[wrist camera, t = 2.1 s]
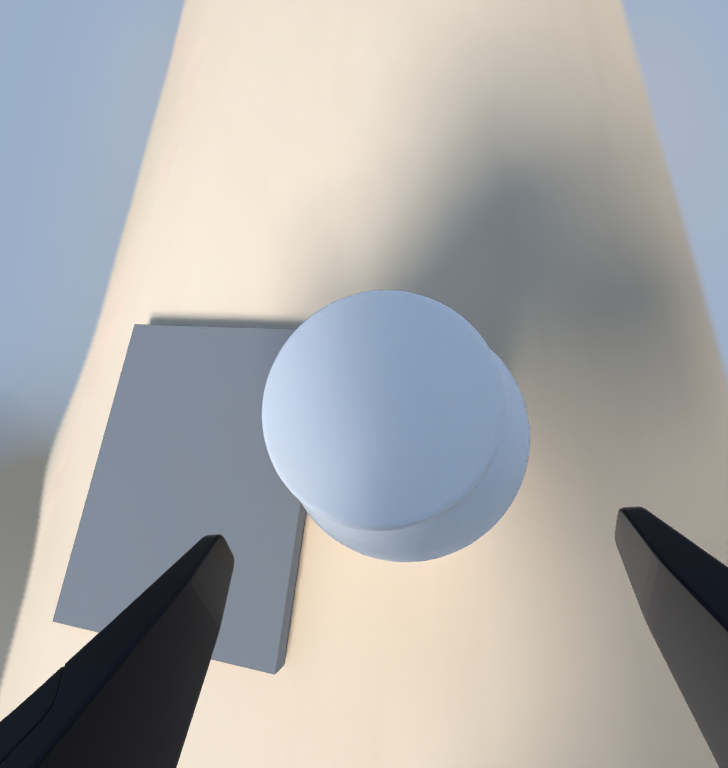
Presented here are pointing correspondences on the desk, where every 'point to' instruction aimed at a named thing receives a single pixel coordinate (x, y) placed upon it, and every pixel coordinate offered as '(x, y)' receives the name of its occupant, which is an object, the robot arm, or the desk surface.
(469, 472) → the supplement bottle
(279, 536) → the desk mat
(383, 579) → the desk surface
